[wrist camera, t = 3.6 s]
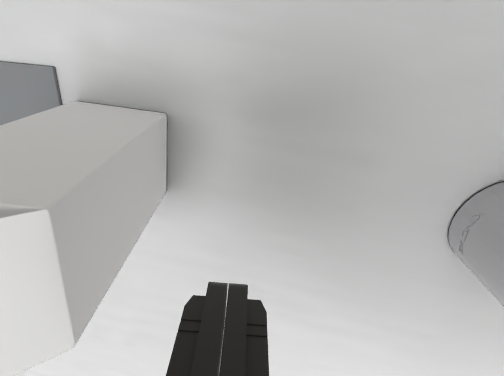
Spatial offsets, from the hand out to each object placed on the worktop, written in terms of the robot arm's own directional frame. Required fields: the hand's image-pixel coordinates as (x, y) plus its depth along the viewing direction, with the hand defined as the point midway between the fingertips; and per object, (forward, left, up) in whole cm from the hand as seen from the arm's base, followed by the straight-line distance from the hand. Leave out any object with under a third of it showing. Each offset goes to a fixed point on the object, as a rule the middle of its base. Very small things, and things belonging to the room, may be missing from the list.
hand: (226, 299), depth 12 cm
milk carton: (+10, 0, -15) cm, 18 cm away
